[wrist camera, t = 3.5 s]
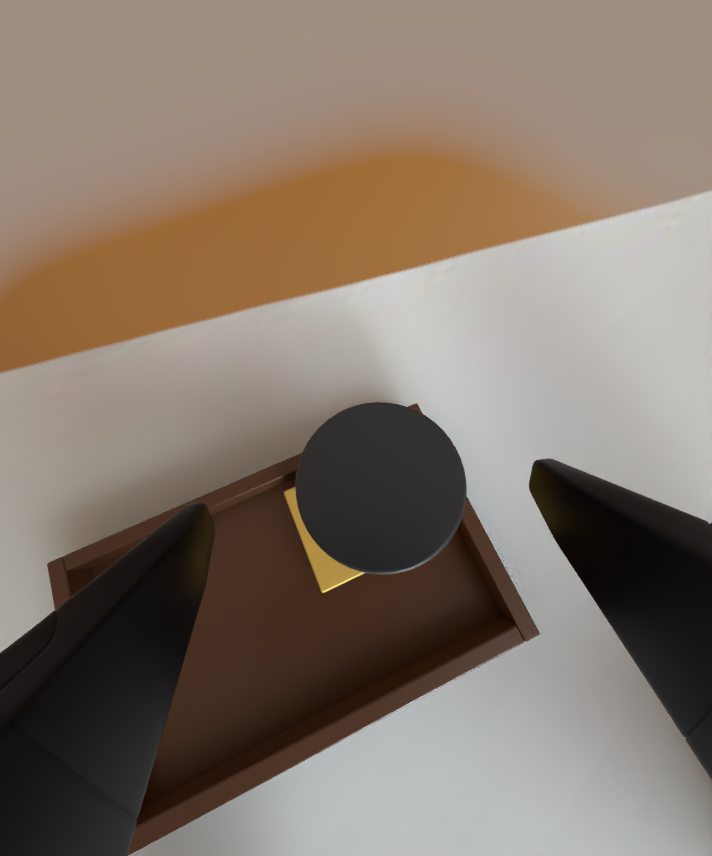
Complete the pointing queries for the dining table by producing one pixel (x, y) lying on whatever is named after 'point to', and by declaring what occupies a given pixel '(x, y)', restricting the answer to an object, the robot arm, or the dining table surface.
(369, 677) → the tray
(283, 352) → the dining table surface
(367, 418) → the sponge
